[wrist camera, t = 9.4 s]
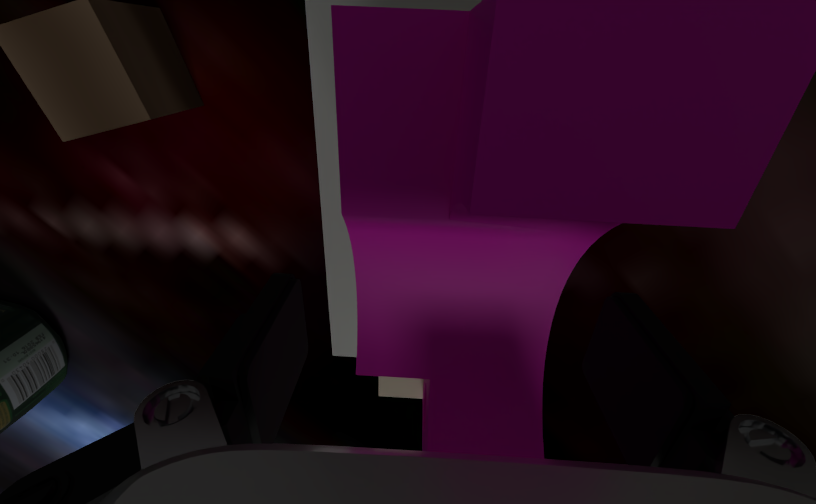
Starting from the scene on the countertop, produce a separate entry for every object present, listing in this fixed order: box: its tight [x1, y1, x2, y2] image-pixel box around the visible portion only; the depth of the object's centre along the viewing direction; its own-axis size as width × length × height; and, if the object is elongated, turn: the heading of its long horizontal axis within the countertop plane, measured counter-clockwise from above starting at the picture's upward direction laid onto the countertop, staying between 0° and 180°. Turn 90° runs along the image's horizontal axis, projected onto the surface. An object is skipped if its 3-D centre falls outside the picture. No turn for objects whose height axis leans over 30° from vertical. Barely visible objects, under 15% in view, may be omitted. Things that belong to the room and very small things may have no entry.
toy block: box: [331, 0, 816, 459], centre depth 11 cm, size 15×6×8 cm, turn 178°
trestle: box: [305, 0, 482, 399], centre depth 17 cm, size 12×20×6 cm, turn 178°
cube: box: [0, 0, 204, 142], centre depth 15 cm, size 4×4×4 cm
